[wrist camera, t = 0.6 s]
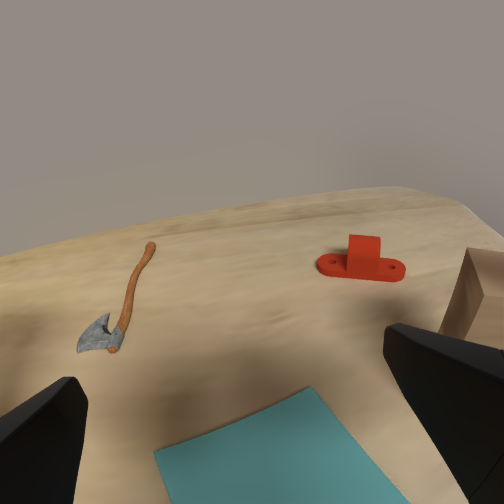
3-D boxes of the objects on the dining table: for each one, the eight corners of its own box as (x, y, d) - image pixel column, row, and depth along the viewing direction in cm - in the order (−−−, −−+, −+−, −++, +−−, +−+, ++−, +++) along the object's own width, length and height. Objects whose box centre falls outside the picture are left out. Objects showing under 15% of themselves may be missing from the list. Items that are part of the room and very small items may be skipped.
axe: (122, 252, 48) (119, 243, 47) (158, 248, 48) (155, 239, 47) (74, 355, 29) (67, 345, 28) (121, 357, 29) (116, 347, 28)
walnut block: (469, 416, 18) (546, 301, 11) (419, 414, 19) (484, 295, 13) (466, 371, 21) (522, 255, 15) (421, 368, 23) (466, 247, 16)
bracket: (402, 267, 37) (408, 233, 34) (405, 284, 34) (412, 250, 31) (319, 259, 41) (319, 226, 38) (315, 276, 38) (315, 241, 35)
